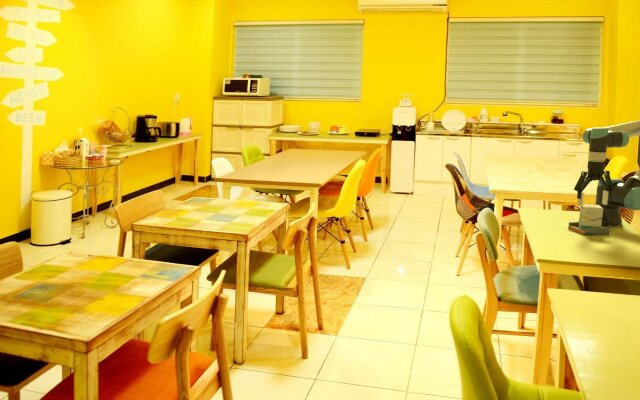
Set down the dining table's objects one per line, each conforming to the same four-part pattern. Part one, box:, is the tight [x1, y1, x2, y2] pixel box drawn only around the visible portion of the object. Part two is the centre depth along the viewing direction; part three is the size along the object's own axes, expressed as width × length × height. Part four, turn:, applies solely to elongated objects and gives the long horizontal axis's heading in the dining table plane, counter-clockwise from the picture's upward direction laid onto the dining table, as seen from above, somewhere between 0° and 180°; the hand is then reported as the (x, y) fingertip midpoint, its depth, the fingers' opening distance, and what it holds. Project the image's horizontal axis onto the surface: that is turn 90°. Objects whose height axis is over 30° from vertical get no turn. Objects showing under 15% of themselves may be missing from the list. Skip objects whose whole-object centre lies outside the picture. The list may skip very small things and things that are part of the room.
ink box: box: [578, 203, 603, 230], centre depth 299 cm, size 9×8×12 cm
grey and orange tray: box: [567, 221, 611, 237], centre depth 300 cm, size 13×13×4 cm
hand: (592, 205), depth 298 cm, fingers open, 13 cm apart
